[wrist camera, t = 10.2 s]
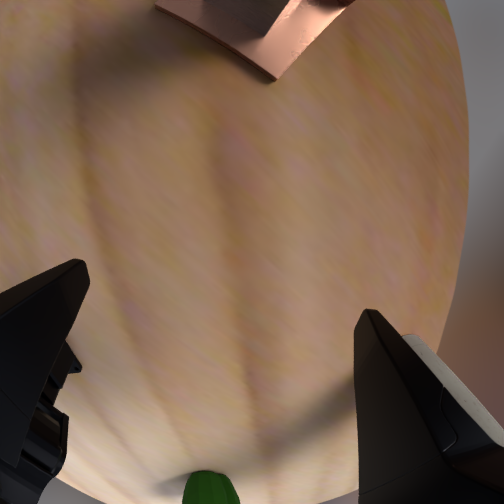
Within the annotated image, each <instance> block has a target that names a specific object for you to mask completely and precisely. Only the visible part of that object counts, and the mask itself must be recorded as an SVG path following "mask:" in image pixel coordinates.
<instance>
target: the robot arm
mask: <svg viewBox="0 0 504 504" xmlns="http://www.w3.org/2000/svg"><path fill="white" fill-rule="evenodd" d="M89 286H90V278H89V274H88V270H87V266H86V263H85V261H83V260H80V259H71V260H69V261H67V262H65V263H62V264H60V265H58V266H56V267H54V268H52V269H49V270H47V271H45V272H43V273H41V274H39V275H37V276H34V277H32V278H30V279H28V280H26V281H24V282H22V283H20V284H18V285H16V286H14V287H12V288H10V289H8V290H6V291H4V292H2V293H0V504H37V503H38V501H39V498H40V496H41V493H42V492H43V490H44V488H45V487H46V485H47V483H48V482H49V481H50V480H51V479H52V478H54V477H55V476H56V475H57V474H58V473H59V472H60V470H61V469H62V466H63V464H64V462H65V459H66V454H67V438H68V423H69V416H67V415H66V414H65V413H62V412H60V411H59V410H58V409H56V408H55V407H54V406H53V405H54V403H55V400H56V398H57V395H58V393H59V390H60V389H62V387H63V385H64V382H65V380H66V378H67V375H68V374H71V373H79V372H81V370H82V365H81V364H80V362H79V361H78V359H77V358H76V356H75V355H74V353H73V352H72V350H71V348H70V347H69V345H68V344H67V342H66V340H65V339H66V337H67V335H68V333H69V331H70V330H71V328H72V325H73V323H74V321H75V319H76V317H77V314H78V312H79V309H80V307H81V305H82V302H83V300H84V298H85V295H86V293H87V291H88V288H89ZM77 367H78V368H77ZM354 387H355V399H356V413H357V430H358V456H359V499H358V504H504V447H502V446H501V445H499V444H497V443H496V442H495V441H494V440H493V439H491V437H490V436H489V435H488V434H487V433H486V432H485V431H484V430H483V429H482V428H481V427H480V426H479V425H478V424H477V422H476V421H475V420H474V419H473V418H472V417H471V416H470V415H469V414H468V413H467V412H466V411H465V410H464V409H463V407H462V406H461V405H460V404H459V403H458V402H457V400H456V399H455V398H454V397H453V396H452V395H451V393H450V392H449V391H448V390H447V389H446V387H443V384H442V383H441V381H440V380H439V379H438V378H437V377H436V375H435V374H434V373H433V372H432V371H431V370H430V368H429V367H428V366H427V365H426V364H425V363H424V361H423V360H422V359H421V358H420V357H419V356H418V355H417V353H416V352H415V351H414V350H413V349H412V348H411V347H410V345H409V344H408V343H407V342H406V341H405V340H404V339H403V338H402V336H401V335H400V334H399V333H398V332H397V331H396V330H395V329H394V328H393V326H392V325H391V324H390V323H389V322H388V321H387V320H386V319H385V318H384V317H383V316H382V314H381V313H380V312H379V311H378V310H374V309H365V310H364V311H363V312H362V314H361V316H360V318H359V320H358V322H357V324H356V326H355V329H354Z"/></svg>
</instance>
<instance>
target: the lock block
mask: <svg viewBox="0 0 504 504" xmlns="http://www.w3.org/2000/svg"><path fill="white" fill-rule="evenodd" d="M204 1H206V2H208V3H209V4H211V5H213V6H215V7H217V8H219V9H220V10H222V11H224V12H226V13H227V14H229V15H231V16H232V17H234V18H236V19H237V20H239V21H241V22H242V23H244V24H246V25H247V26H249V27H250V28H252V29H253V30H255V31H256V32H258V33H259V34H261V35H262V36H264V37H265V36H266V35H267V34H268V33H269V32H270V31H271V30H272V29H273V28H274V27H275V26H276V25H277V24H278V23H279V22H280V21H281V20H282V19H283V18H284V17H285V16H286V15H287V14H288V13H289V12H290V11H291V10H293V9H294V8H295V7H296V6H297V5H298V4H299V3H300V2H301V0H204Z"/></svg>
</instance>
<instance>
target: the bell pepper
mask: <svg viewBox="0 0 504 504" xmlns="http://www.w3.org/2000/svg"><path fill="white" fill-rule="evenodd" d="M182 504H240V500H239V497H238V495H237V493H236V491H235V488H234V486H233V485H232V483H231V481H230V479H229V478H228V477H227V476H226V475H223V474H216V473H214V472H210V471H202V472H196V473H193V474H192V475H191V476H190V478H189V479H188V480H187V483H186V486H185V490H184V494H183V499H182Z"/></svg>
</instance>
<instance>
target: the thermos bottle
mask: <svg viewBox="0 0 504 504" xmlns="http://www.w3.org/2000/svg"><path fill="white" fill-rule="evenodd" d="M402 338H403V339H404V340H405V341H406V342H407V343H408V344H409V345H410V347H411V348H412V349H413V350H414V351H415V352H416V353H417V355H418V356H419V357H420V358H421V359H422V360H423V361H424V363H425V364H426V365H427V366H428V367H429V368H430V370H431V371H432V372H433V373H434V374H435V375H436V377H437V378H438V379H439V380H440V381H441V383H442V384H443V387H446V389H447V390H448V391H449V392H450V393H451V395H452V396H453V397H454V398H455V399H456V400H457V402H458V403H459V404H460V405H461V406H462V407H463V409H464V410H465V411H466V412H467V413H468V414H469V415H470V416H471V417H472V418H473V419H474V420H475V421H476V422H477V424H478V425H479V426H480V427H481V428H482V429H483V430H484V431H485V432H486V433H487V434H488V435H489V436H490V437H491V439H493V440H494V441H495V442H496V443H497V444H499V445H501V446H502V447H504V430H503V429H502V427H501V426H500V425H499V424H498V423H497V421H496V420H495V419H494V418H493V417H492V416H491V414H490V413H489V412H488V411H487V410H486V409H485V408H484V406H483V405H482V404H481V403H480V402H479V400H478V399H476V397H475V396H474V395H473V394H472V393H471V392H470V390H469V389H468V388H467V387H466V386H465V385H464V384H463V383H462V382H461V380H460V379H459V378H458V377H457V376H456V375H455V374H454V373H453V372H452V371H451V370H450V369H449V368H448V367H447V365H445V363H444V362H443V361H442V360H441V359H440V358H439V357H438V356H437V355H436V354H435V353H434V352H433V351H432V350H431V349H430V348H429V347H428V346H427V345H426V344H425V343H424V342H423V341H422V340H421V339H420V338H419V337H418V336H416V335H412V334H410V335H404V336H402Z"/></svg>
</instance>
